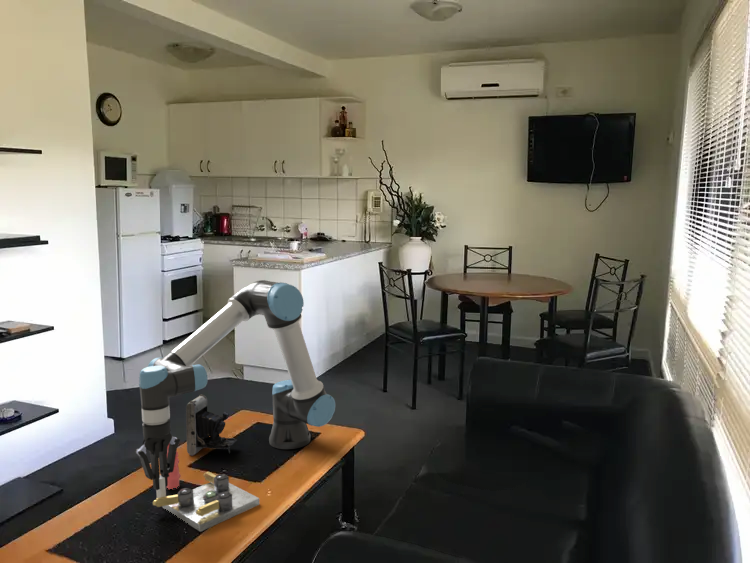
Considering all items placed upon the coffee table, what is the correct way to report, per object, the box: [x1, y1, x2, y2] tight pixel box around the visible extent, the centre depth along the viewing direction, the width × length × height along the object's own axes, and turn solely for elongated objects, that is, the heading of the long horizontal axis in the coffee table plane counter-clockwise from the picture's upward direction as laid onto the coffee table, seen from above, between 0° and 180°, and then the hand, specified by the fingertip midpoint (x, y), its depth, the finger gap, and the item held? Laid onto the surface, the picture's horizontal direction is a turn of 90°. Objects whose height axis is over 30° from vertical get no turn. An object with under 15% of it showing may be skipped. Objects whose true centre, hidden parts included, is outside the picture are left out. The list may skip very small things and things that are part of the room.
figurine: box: [165, 443, 182, 490], centre depth 195 cm, size 5×5×15 cm
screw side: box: [196, 492, 232, 516], centre depth 176 cm, size 11×4×4 cm, turn 138°
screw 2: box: [203, 471, 230, 491], centre depth 192 cm, size 11×4×4 cm, turn 48°
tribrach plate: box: [162, 482, 260, 532], centre depth 183 cm, size 20×20×4 cm
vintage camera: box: [185, 394, 238, 457], centre depth 222 cm, size 10×16×20 cm, turn 78°
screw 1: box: [152, 487, 194, 508], centre depth 180 cm, size 11×4×4 cm, turn 111°
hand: (161, 498), depth 181 cm, fingers closed
